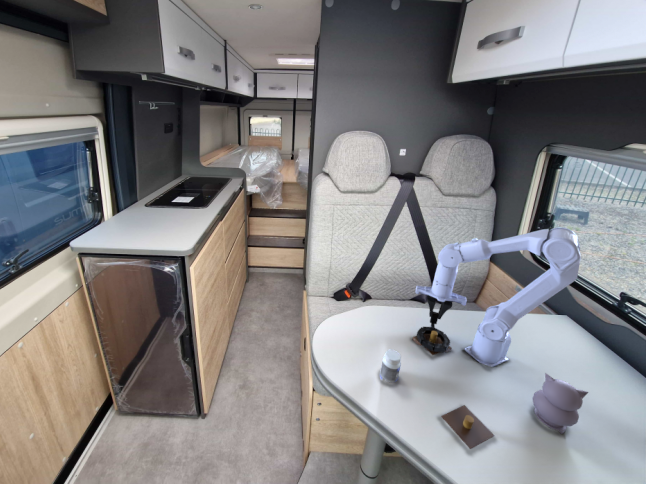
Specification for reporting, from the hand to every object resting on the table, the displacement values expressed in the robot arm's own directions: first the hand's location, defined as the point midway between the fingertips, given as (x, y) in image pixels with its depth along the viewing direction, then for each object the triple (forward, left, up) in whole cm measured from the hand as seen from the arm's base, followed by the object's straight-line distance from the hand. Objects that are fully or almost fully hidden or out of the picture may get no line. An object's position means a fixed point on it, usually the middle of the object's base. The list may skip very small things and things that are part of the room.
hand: (434, 316), depth 100 cm
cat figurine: (-3, +34, -6) cm, 35 cm away
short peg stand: (+18, +28, -6) cm, 34 cm away
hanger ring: (+4, +4, -4) cm, 7 cm away
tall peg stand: (+5, +5, -6) cm, 9 cm away
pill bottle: (+26, +10, -6) cm, 28 cm away
